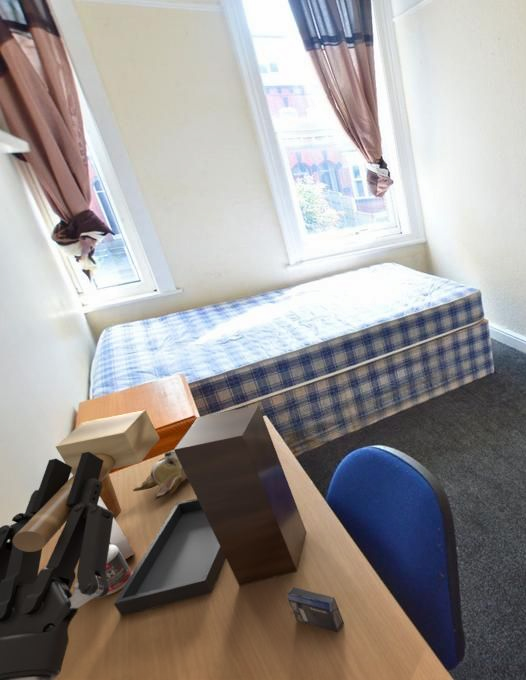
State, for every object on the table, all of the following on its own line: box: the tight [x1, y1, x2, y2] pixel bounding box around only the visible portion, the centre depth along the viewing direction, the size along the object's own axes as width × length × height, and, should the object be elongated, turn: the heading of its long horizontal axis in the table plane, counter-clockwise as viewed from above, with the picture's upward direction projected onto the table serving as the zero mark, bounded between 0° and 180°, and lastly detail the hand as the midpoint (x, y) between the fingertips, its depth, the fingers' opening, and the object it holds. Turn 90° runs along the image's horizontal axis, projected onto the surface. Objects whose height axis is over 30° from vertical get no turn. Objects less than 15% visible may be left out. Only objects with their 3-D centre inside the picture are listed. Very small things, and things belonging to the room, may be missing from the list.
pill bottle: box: [105, 543, 133, 596], centre depth 86 cm, size 5×5×10 cm
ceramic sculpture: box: [132, 450, 188, 500], centre depth 114 cm, size 11×9×15 cm
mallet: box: [13, 409, 160, 552], centre depth 58 cm, size 20×8×5 cm, turn 13°
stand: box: [173, 404, 307, 587], centre depth 84 cm, size 10×10×30 cm
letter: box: [97, 496, 135, 560], centre depth 96 cm, size 22×2×10 cm, turn 51°
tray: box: [113, 497, 227, 617], centre depth 93 cm, size 26×15×3 cm, turn 13°
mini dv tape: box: [286, 587, 345, 633], centre depth 75 cm, size 8×2×6 cm, turn 72°
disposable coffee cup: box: [68, 472, 122, 518], centre depth 104 cm, size 10×10×12 cm
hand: (76, 460), depth 58 cm, fingers closed on mallet, 3 cm apart
